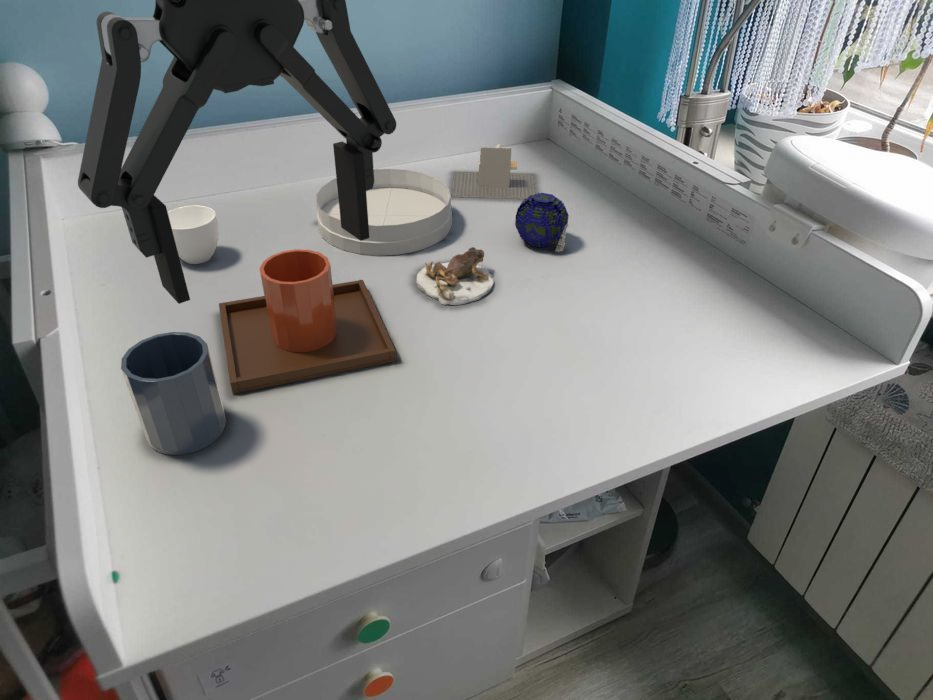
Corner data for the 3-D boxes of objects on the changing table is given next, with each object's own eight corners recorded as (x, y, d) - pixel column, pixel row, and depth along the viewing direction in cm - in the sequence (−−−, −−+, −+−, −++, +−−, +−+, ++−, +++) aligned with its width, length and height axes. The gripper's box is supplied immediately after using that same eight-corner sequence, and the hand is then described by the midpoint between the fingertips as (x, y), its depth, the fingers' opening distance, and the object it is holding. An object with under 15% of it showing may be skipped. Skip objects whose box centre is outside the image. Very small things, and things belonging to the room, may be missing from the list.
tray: (232, 394, 81) (230, 383, 80) (221, 313, 94) (218, 303, 93) (396, 361, 86) (395, 350, 85) (363, 289, 100) (362, 279, 98)
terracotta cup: (277, 358, 86) (264, 288, 80) (268, 321, 92) (256, 255, 86) (343, 345, 88) (335, 277, 82) (330, 311, 94) (322, 245, 88)
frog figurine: (457, 253, 109) (457, 230, 106) (511, 283, 102) (513, 260, 99) (398, 277, 102) (397, 254, 100) (453, 312, 95) (453, 288, 93)
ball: (571, 236, 114) (576, 192, 109) (558, 257, 108) (563, 212, 103) (524, 227, 116) (527, 184, 111) (509, 247, 110) (512, 203, 106)
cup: (216, 270, 103) (207, 229, 99) (148, 269, 103) (136, 228, 99) (230, 245, 109) (222, 205, 105) (165, 244, 109) (155, 204, 105)
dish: (450, 257, 107) (450, 227, 104) (306, 254, 107) (302, 225, 104) (452, 196, 125) (453, 169, 122) (329, 193, 125) (326, 167, 122)
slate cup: (146, 462, 72) (119, 388, 66) (146, 412, 78) (122, 340, 72) (229, 444, 74) (210, 371, 68) (222, 396, 80) (205, 326, 74)
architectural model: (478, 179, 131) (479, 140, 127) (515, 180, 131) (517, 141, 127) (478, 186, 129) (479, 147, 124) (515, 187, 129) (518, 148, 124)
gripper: (-57, -82, 27) (104, 353, 40) (446, -104, 40) (445, 229, 53) (-88, -98, 32) (65, 297, 44) (373, -113, 45) (389, 196, 57)
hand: (272, 261), depth 49 cm, fingers open, 13 cm apart
